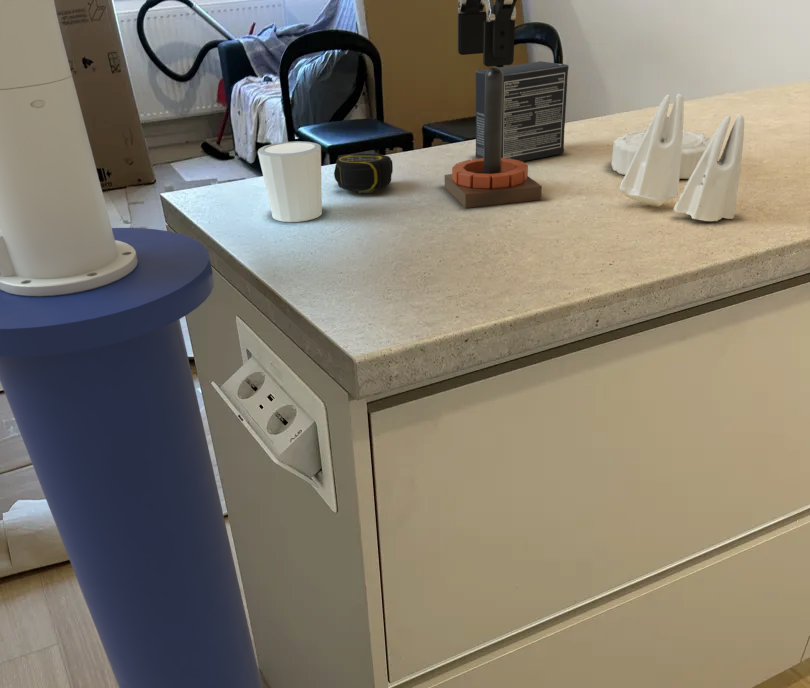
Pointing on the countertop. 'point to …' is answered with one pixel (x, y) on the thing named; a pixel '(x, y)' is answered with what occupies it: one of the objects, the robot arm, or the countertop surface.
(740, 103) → the countertop surface
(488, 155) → the stand
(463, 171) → the ring
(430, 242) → the countertop surface
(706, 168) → the shaker set
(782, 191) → the countertop surface
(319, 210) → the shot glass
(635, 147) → the mooncake
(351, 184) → the tape measure
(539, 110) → the small box
